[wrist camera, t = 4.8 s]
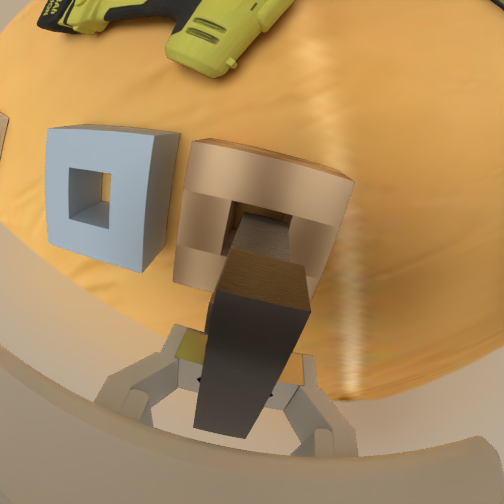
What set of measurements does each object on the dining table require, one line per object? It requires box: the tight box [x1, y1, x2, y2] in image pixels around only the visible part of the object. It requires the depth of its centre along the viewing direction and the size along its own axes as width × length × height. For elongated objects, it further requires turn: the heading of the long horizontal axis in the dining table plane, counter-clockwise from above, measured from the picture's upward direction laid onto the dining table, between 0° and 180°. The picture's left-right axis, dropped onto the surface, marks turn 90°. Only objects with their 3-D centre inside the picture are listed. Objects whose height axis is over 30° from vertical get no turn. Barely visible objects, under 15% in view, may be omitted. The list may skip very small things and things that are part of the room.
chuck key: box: [193, 212, 311, 439], centre depth 14 cm, size 8×3×13 cm, turn 167°
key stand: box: [173, 138, 355, 302], centre depth 23 cm, size 12×12×6 cm
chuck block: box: [45, 124, 180, 273], centre depth 23 cm, size 12×12×6 cm
